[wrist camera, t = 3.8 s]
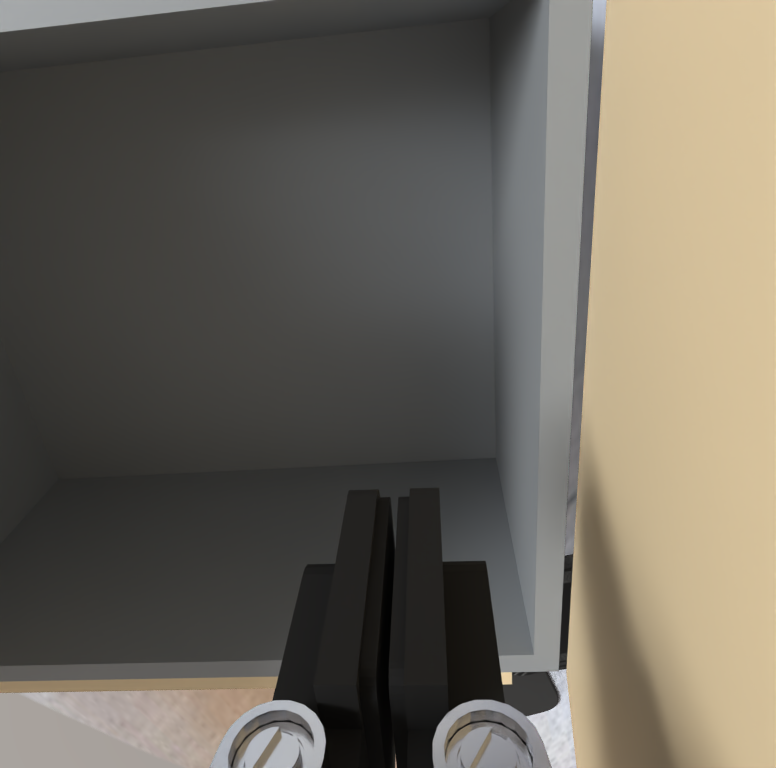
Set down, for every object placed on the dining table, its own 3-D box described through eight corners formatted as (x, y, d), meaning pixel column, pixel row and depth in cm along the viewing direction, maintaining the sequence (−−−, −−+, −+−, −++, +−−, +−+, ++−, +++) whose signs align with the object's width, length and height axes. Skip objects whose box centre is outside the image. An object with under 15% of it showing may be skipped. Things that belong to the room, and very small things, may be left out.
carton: (-125, 44, 23) (-591, 20, 12) (509, -30, 21) (599, -136, 10) (61, 492, 33) (-113, 694, 22) (510, 471, 31) (558, 683, 20)
